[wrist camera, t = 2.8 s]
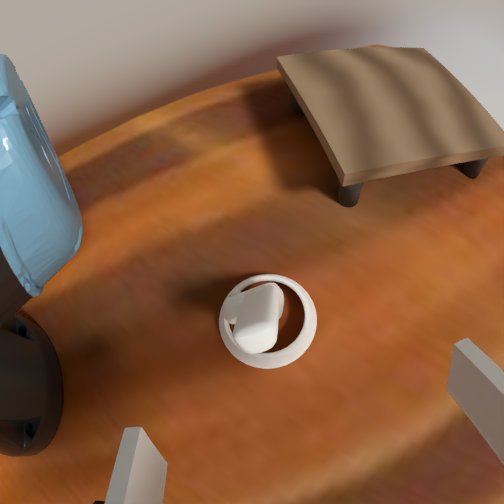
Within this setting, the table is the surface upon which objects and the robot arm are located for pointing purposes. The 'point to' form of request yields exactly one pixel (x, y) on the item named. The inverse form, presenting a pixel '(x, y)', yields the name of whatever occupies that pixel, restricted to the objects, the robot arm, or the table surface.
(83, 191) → the table surface
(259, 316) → the white ring with handle
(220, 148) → the table surface
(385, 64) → the small wooden table
